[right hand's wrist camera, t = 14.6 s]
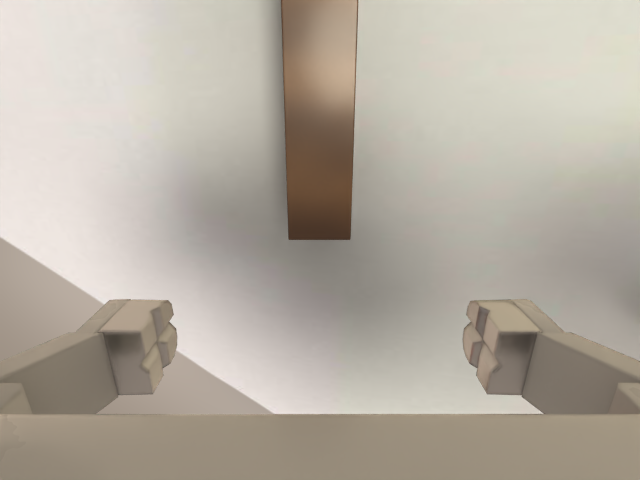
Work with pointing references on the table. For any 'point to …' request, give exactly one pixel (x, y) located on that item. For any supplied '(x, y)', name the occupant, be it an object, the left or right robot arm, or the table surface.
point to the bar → (319, 115)
